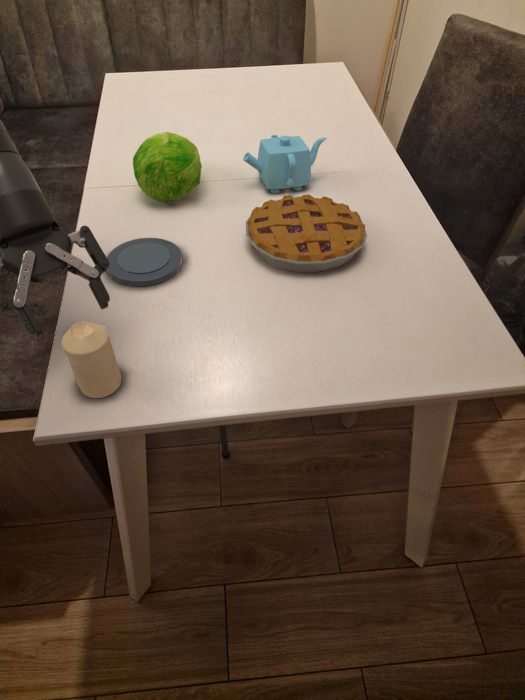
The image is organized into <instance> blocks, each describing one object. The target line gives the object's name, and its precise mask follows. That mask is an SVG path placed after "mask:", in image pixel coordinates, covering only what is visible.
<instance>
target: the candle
mask: <svg viewBox="0 0 525 700" xmlns="http://www.w3.org/2000/svg"><path fill="white" fill-rule="evenodd" d="M109 335H110V334H109V332H108V329H107V328H106V326H104V325H102V324H100V323H98V322H92V321H83V320H80V321H77V322H75V323H74V324H73V325H71V326H70V328H69V329H68V330H66V332H65V333H64V334H63V336H62V338H61V346H62V348H63V351H64V354H65V356H66V358H67V360H68V363H69V366H70V368H71V370H72V373H73V375H74V377H75V380H76V382H77V385H78V387H79V389H80V392H81V393H82V394H83V395H84V396H86V397H87V398H91V399H102V398H105V397H109V396H110V395H112V394H113V393H115V392H116V391H117V390H118V389H119V388H120V386H121V384H122V375H121V371H120V367H119V364H118V361H117V358H116V355H115V351H114V348H113V345H112V341H111V337H110V336H109Z"/></svg>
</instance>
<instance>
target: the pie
mask: <svg viewBox="0 0 525 700" xmlns="http://www.w3.org/2000/svg"><path fill="white" fill-rule="evenodd" d="M245 236H246V237H247V239H248V240H249V241H250V243H251V244H252V246H253V247H254V249H255V250H256V251H257V252H258V254H259V255H260V257H261V258H262V259H263V260H264V261H265V262H267V264H270V265H271V266H273V267H274V268H276V269H278V270H282V271H287V272H288V271H289V272H293V273H319V272H323V271H328V270H332V269H336V268H339V267H341V266H342V265H344V264H346V263H348V262H349V261H351V260H352V259H353V258H354V256H355V255H356V254H357V252H358V251H360V250H362V249H363V247H364V244H365V242H366V239H367V236H368V234H367V231H366V224H365V223H363V220H362V218H361V216H360V214H359V213H358V211H353V210H351V209H350V206H349V205H348V204H345V203H341V202H340V203H338V202H335V201H334V200H333V198H331V197H327V196H322V197H319V198H318V197H314V196H312V195H311V194H303V195H300V196H295V197H294V196H292V195H290V194H287V195H283V196H282V197H281V199H277V200H274V199H269V200H267V201H264V202H263V203H262V206H260V207H259V206H255V207H254V208H253V209H252V211H251V213H250V215H249V217H248V218H247V219H246V221H245Z"/></svg>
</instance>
